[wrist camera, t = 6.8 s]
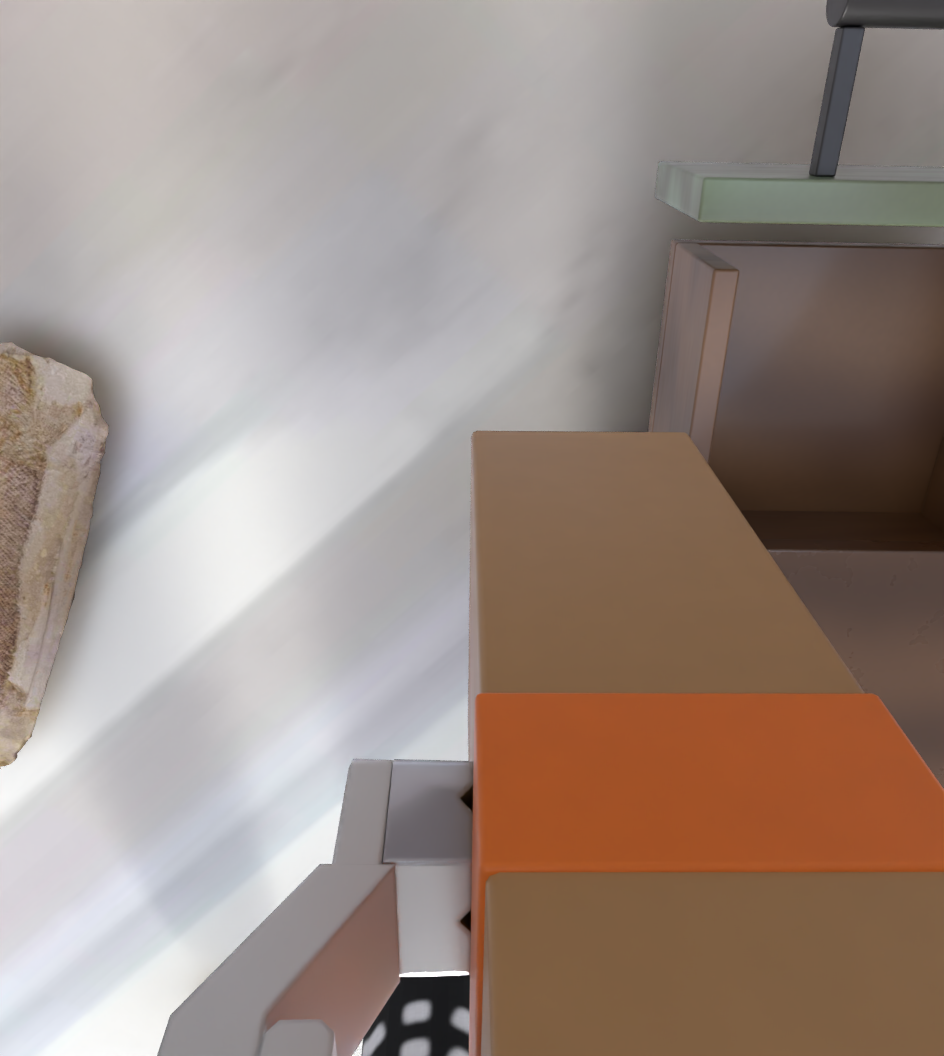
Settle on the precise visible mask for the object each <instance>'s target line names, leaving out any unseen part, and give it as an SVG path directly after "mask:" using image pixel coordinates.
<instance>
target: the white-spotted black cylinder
mask: <svg viewBox="0 0 944 1056" xmlns="http://www.w3.org/2000/svg"><path fill="white" fill-rule="evenodd" d="M469 1010H470V975H446V976H413V977H400V982H399V984H398V985H397V987H396V989H395V990H394V992H393V993H392V995H391V996H390V998H389V999H388V1001H387V1002H386V1004H385V1005H384V1007H383V1008H382V1010H381V1012H380V1013H379V1015H378V1016H377V1018H376V1019H375V1021H374V1022H373V1024H372V1025H371V1027H370V1028H369V1030H368V1031H367V1033H366V1035H365V1036H364V1038H363V1047H362V1056H469Z"/></svg>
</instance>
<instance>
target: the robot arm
mask: <svg viewBox="0 0 944 1056" xmlns="http://www.w3.org/2000/svg"><path fill="white" fill-rule="evenodd" d="M472 829H473V761H440V760H403V759H394V761H393V760H371V759H353V760H352V763H351V765H350V767H349V770H348V776H347V781H346V787H345V793H344V799H343V804H342V810H341V816H340V822H339V827H338V833H337V839H336V845H335V850H334V856H333V862H332V864H320V865H319V866H318V867H317V868H316V869H315V870H314V871H313V872H312V873H311V874H310V875H309V876H308V877H307V878H306V879H305V880H304V881H303V882H302V883H301V884H300V885H299V886H298V887H297V888H296V889H295V890H294V891H293V892H292V893H291V894H290V895H289V896H288V897H287V898H286V899H285V900H284V901H283V902H282V903H281V904H280V905H279V906H278V907H277V908H276V909H275V910H274V911H273V912H272V913H271V914H270V915H269V916H268V917H267V918H266V919H265V920H264V921H263V922H262V923H261V924H260V925H259V926H258V927H257V928H256V929H255V930H254V931H253V932H252V933H251V934H250V935H249V936H248V937H247V938H246V939H245V940H244V941H243V942H242V943H241V944H240V945H239V946H238V947H237V948H236V949H235V951H234V952H233V953H232V954H231V955H230V956H229V957H228V958H227V959H226V960H225V961H224V962H223V963H222V964H221V965H220V966H219V967H218V968H217V969H216V970H215V971H214V972H213V973H212V974H211V975H210V976H209V977H208V978H207V979H206V980H205V981H204V982H203V983H202V984H201V985H200V986H199V987H198V988H197V989H196V990H195V991H194V992H193V993H192V994H191V995H190V996H189V997H188V998H187V999H186V1000H185V1001H184V1002H183V1003H182V1004H181V1005H180V1006H179V1007H178V1008H177V1009H176V1010H175V1011H174V1012H173V1013H172V1014H171V1015H170V1018H169V1021H168V1024H167V1027H166V1030H165V1033H164V1036H163V1039H162V1042H161V1045H160V1049H159V1052H158V1055H157V1056H352V1055H353V1053H354V1051H355V1050H356V1048H357V1047H358V1045H359V1044H360V1042H361V1041H362V1039H363V1038H364V1036H365V1035H366V1033H367V1031H368V1030H369V1028H370V1027H371V1025H372V1024H373V1022H374V1021H375V1019H376V1018H377V1016H378V1015H379V1013H380V1012H381V1010H382V1008H383V1007H384V1005H385V1004H386V1002H387V1001H388V999H389V998H390V996H391V995H392V993H393V992H394V990H395V989H396V987H397V985H398V984H399V982H400V977H413V976H446V975H470V952H471V891H472Z"/></svg>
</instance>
